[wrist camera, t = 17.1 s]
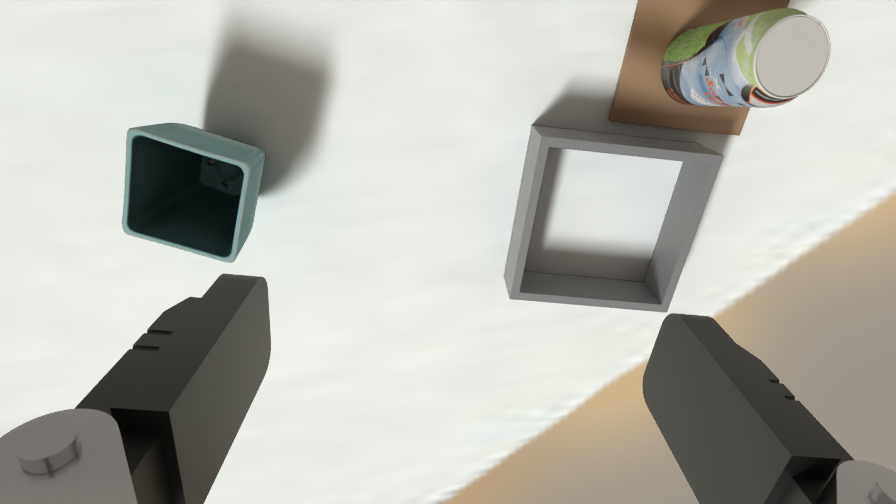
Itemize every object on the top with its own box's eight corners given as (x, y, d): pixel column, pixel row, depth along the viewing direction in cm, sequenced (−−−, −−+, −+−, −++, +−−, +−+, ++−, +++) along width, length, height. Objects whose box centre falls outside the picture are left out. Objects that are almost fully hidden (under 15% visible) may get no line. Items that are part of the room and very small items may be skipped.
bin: (531, 125, 44) (541, 136, 40) (697, 143, 45) (723, 156, 41) (503, 276, 51) (509, 298, 47) (648, 289, 52) (666, 312, 48)
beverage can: (643, 93, 42) (713, 120, 31) (679, 0, 39) (771, -6, 28) (709, 109, 43) (800, 141, 32) (749, 19, 40) (865, 21, 29)
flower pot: (175, 195, 46) (119, 233, 38) (185, 104, 43) (125, 125, 34) (268, 222, 48) (233, 265, 39) (285, 137, 44) (251, 164, 36)
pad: (646, -34, 39) (649, -35, 38) (790, -15, 39) (795, -15, 39) (608, 119, 44) (610, 121, 43) (735, 134, 45) (739, 135, 44)
